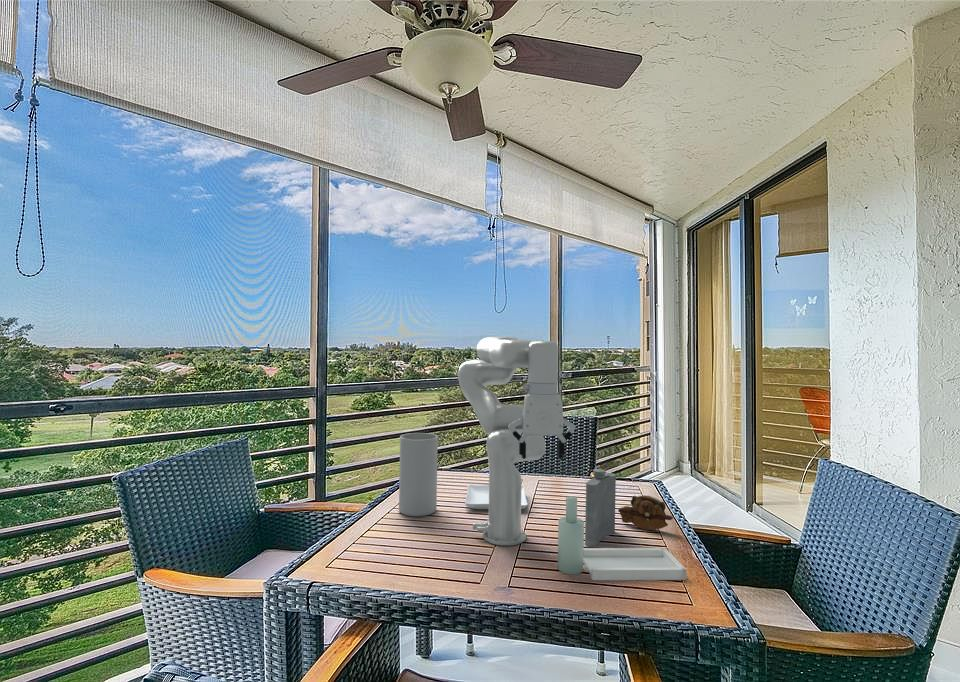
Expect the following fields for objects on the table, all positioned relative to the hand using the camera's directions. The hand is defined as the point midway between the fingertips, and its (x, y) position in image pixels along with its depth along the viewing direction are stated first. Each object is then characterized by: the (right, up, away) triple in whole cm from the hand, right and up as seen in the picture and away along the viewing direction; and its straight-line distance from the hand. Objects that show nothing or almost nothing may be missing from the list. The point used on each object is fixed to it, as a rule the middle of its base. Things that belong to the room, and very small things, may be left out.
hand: (541, 457), depth 129 cm
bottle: (+7, -28, 0) cm, 29 cm away
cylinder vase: (-36, -28, +41) cm, 62 cm away
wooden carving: (+36, -29, +29) cm, 54 cm away
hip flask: (+19, -29, +21) cm, 41 cm away
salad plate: (-10, -28, +52) cm, 60 cm away
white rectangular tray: (+22, -29, +1) cm, 36 cm away
